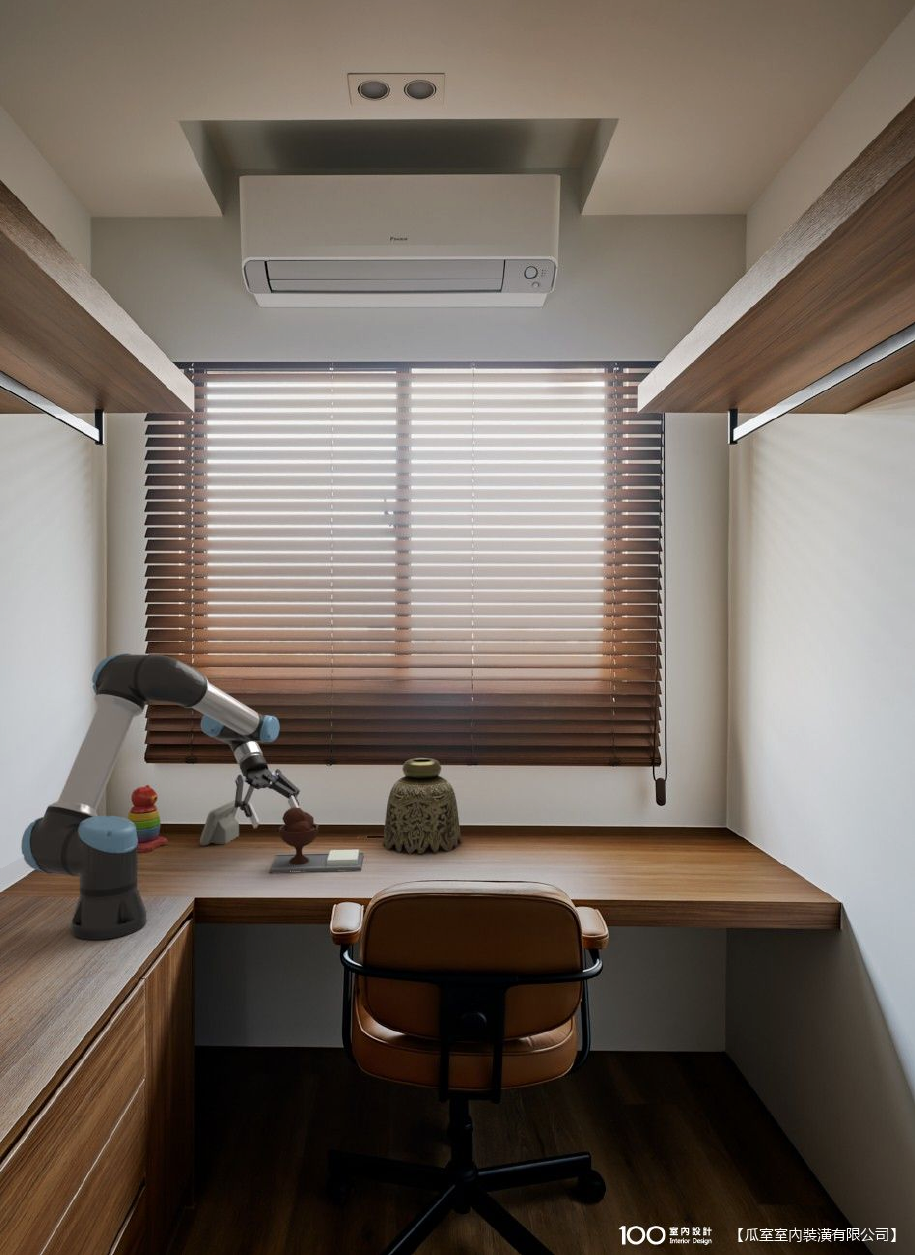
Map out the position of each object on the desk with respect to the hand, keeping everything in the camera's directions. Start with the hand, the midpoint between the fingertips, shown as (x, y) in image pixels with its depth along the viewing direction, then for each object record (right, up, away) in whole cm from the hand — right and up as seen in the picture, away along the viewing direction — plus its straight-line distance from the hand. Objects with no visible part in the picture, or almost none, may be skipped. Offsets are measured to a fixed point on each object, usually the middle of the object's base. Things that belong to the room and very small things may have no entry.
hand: (278, 821), depth 227 cm
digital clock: (-22, -10, +17) cm, 30 cm away
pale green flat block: (+19, -10, -7) cm, 23 cm away
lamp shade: (+40, -10, +13) cm, 43 cm away
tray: (+12, -10, -7) cm, 17 cm away
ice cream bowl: (+7, -10, -7) cm, 14 cm away
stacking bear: (-42, -10, +10) cm, 44 cm away
